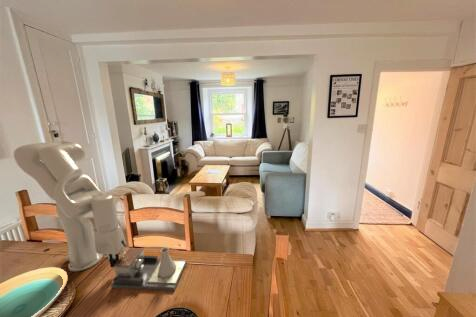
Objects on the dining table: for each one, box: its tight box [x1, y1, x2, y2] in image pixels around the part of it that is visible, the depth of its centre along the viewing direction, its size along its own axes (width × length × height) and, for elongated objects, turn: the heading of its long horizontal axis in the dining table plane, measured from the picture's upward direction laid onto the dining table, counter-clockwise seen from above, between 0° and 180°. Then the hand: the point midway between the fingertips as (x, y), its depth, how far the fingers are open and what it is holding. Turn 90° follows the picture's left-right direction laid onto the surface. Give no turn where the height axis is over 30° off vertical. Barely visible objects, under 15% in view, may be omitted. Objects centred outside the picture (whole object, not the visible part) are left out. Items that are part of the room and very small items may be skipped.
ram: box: [113, 247, 145, 278], centre depth 79 cm, size 8×10×7 cm
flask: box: [158, 246, 176, 277], centre depth 78 cm, size 7×7×10 cm
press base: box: [110, 255, 188, 292], centre depth 80 cm, size 25×14×4 cm, turn 86°
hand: (115, 264), depth 80 cm, fingers closed
